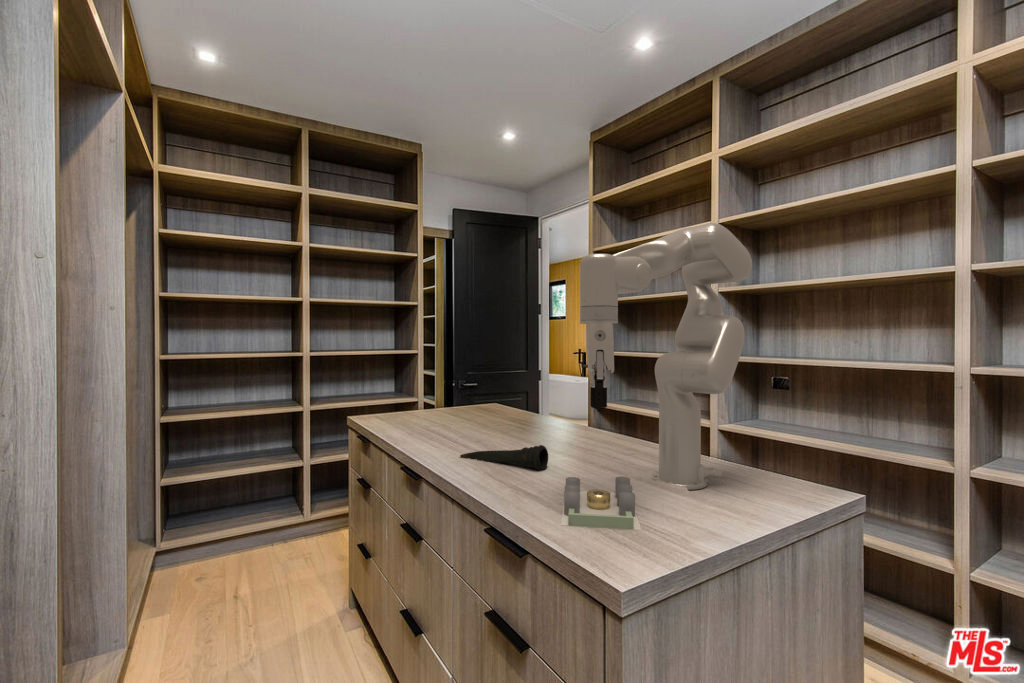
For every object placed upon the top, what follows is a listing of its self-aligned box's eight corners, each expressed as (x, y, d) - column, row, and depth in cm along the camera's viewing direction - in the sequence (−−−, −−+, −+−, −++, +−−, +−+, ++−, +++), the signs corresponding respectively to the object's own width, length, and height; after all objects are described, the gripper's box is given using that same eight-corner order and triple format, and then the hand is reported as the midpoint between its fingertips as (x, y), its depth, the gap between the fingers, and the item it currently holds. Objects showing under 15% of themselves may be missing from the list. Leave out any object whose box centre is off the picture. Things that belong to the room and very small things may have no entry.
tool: (551, 468, 129) (551, 444, 129) (538, 473, 124) (538, 448, 124) (473, 454, 145) (473, 432, 145) (458, 458, 140) (459, 435, 140)
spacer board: (629, 498, 104) (630, 474, 104) (641, 536, 84) (641, 507, 84) (565, 495, 106) (565, 472, 106) (561, 531, 86) (561, 502, 86)
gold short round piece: (609, 502, 98) (609, 489, 98) (610, 510, 93) (611, 497, 93) (586, 501, 98) (586, 488, 98) (587, 509, 94) (587, 495, 94)
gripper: (621, 314, 89) (621, 413, 89) (614, 317, 103) (614, 402, 104) (580, 314, 90) (580, 412, 90) (579, 318, 104) (579, 402, 105)
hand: (598, 407), depth 97 cm, fingers closed
